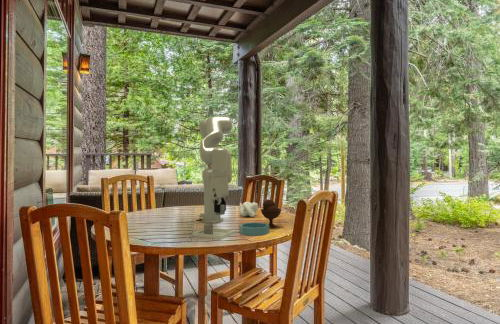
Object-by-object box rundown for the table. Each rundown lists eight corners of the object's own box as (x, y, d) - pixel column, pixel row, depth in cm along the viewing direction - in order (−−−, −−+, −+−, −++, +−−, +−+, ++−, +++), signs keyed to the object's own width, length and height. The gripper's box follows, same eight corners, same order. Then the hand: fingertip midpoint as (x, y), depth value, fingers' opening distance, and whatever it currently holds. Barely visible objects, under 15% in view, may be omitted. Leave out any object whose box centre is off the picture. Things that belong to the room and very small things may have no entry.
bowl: (235, 234, 175) (234, 226, 175) (248, 229, 188) (248, 221, 188) (260, 237, 169) (260, 229, 169) (272, 231, 181) (272, 223, 181)
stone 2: (213, 214, 172) (213, 205, 172) (218, 212, 176) (218, 203, 175) (221, 215, 170) (221, 205, 169) (226, 213, 174) (226, 204, 173)
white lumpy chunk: (253, 214, 236) (253, 200, 236) (262, 216, 225) (262, 202, 225) (238, 215, 231) (237, 201, 230) (246, 218, 220) (246, 204, 220)
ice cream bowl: (280, 229, 187) (279, 200, 187) (259, 228, 190) (258, 200, 189) (282, 225, 198) (282, 198, 197) (262, 224, 200) (262, 197, 200)
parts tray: (192, 237, 171) (192, 233, 171) (209, 231, 184) (209, 227, 184) (220, 240, 164) (220, 236, 164) (236, 234, 176) (236, 230, 176)
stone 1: (202, 234, 174) (202, 225, 174) (207, 232, 178) (207, 223, 178) (209, 235, 172) (209, 226, 172) (214, 233, 176) (214, 224, 176)
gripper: (222, 172, 181) (222, 208, 182) (203, 175, 166) (203, 214, 167) (235, 172, 177) (235, 209, 178) (216, 175, 162) (217, 215, 163)
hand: (220, 211), depth 173 cm, fingers closed on stone 2, 4 cm apart
